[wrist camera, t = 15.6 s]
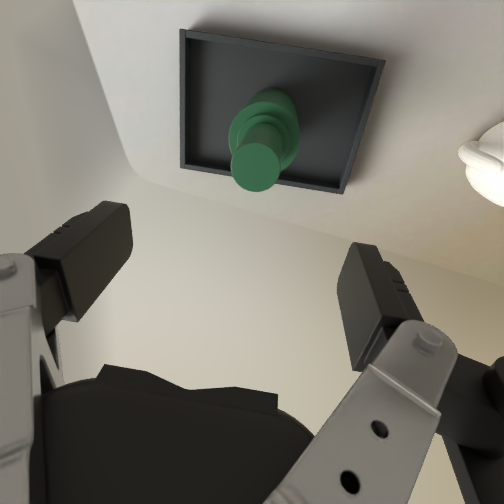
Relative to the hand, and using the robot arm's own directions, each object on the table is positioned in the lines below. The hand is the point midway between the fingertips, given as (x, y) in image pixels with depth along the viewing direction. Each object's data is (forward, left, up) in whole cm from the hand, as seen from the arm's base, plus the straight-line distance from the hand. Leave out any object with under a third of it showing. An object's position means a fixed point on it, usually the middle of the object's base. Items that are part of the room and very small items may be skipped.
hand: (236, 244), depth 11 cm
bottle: (0, 0, -26) cm, 26 cm away
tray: (0, 0, -27) cm, 27 cm away
